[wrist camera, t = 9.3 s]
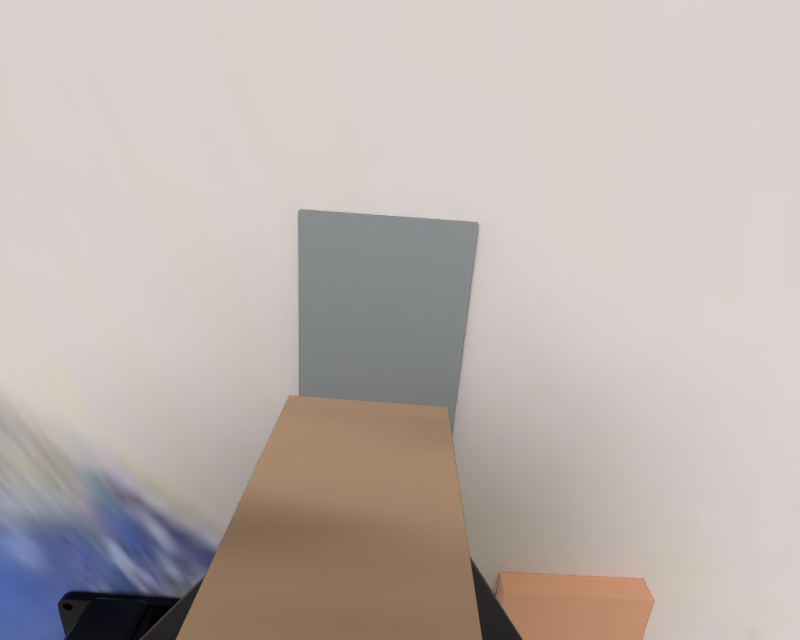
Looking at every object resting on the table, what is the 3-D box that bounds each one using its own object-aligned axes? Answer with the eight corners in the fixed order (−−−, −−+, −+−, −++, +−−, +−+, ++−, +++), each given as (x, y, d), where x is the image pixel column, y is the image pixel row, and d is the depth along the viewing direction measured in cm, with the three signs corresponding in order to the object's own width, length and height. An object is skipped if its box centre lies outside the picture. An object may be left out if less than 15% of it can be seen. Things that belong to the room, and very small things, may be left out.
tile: (639, 571, 24) (611, 666, 26) (498, 564, 24) (483, 659, 26) (654, 600, 22) (623, 697, 25) (504, 593, 22) (488, 691, 25)
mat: (435, 556, 23) (435, 563, 23) (302, 547, 23) (300, 553, 23) (476, 222, 17) (478, 224, 17) (300, 209, 17) (298, 211, 17)
